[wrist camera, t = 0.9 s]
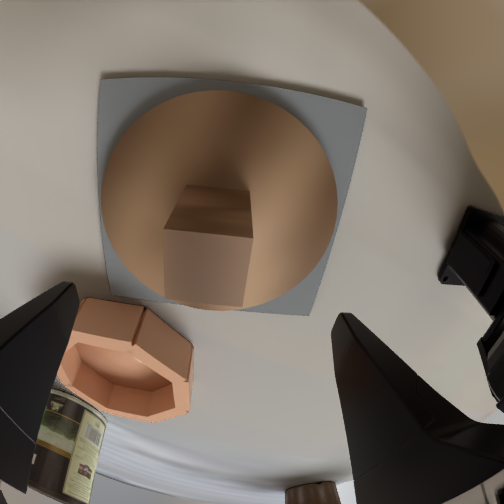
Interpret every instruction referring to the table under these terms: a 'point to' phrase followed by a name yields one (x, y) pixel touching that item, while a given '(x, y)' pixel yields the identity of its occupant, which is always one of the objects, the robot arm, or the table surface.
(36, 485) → the coffee can
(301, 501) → the plant pot
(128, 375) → the bowl
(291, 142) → the lid
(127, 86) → the mat
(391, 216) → the table surface
